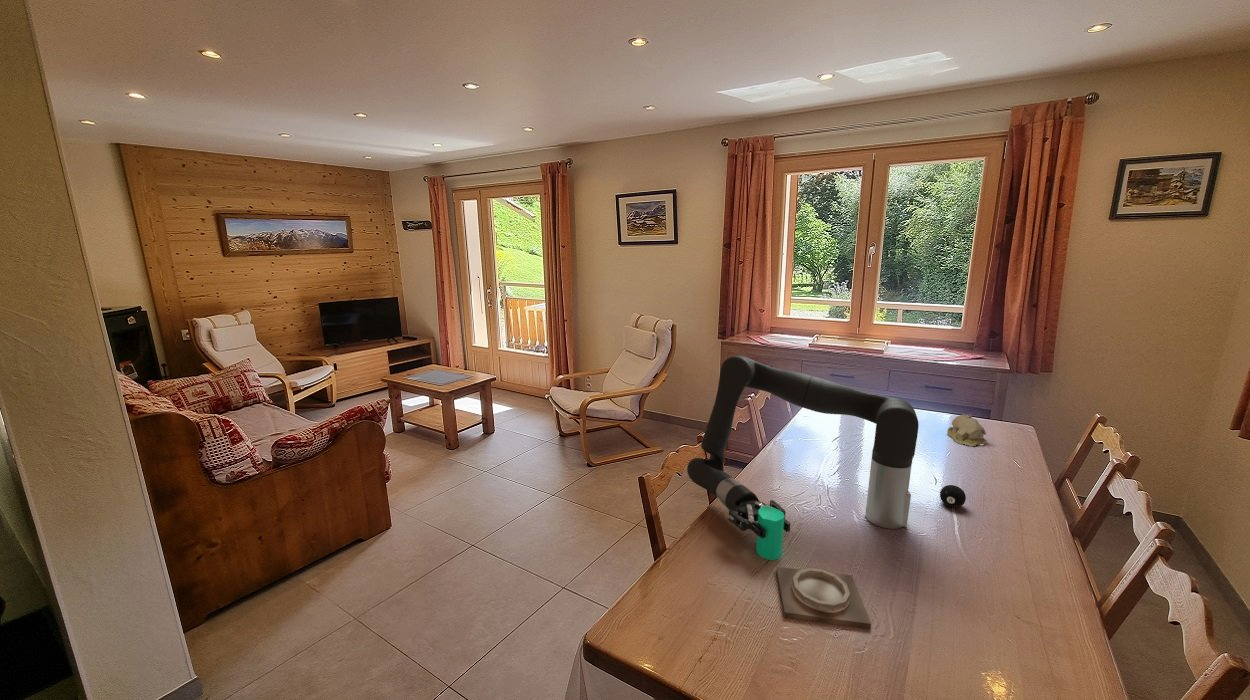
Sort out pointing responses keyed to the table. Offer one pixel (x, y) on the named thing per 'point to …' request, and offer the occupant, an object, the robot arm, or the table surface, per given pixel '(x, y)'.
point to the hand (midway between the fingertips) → (776, 531)
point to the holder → (821, 597)
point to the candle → (770, 533)
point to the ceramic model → (967, 431)
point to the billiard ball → (952, 496)
